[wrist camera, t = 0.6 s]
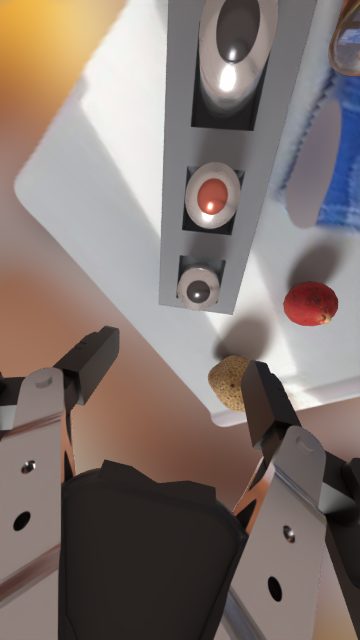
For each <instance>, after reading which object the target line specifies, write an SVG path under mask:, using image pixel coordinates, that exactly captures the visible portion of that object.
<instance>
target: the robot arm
mask: <svg viewBox="0 0 360 640" xmlns="http://www.w3.org/2000/svg"><path fill="white" fill-rule="evenodd" d="M118 353H119V329H118V328H114V327H110V326H104V327H103V328H102V329H101V330H100V331H99V332H93V333H91V334H89V335H87V336H85V337H84V338H83V339H82V340H81V341H80V342H79V343H78V344H77V345H75V346H74V348H72V349H71V350H70V351H69V352H68V353H67V354H66V355H65V356H64V357H63V358H61V359H60V360H59V361H58V362H57V363H56V364H55V365H54V366H53V367H50V368H43V369H39V370H37V371H34V372H33V373H31V374H30V375H28V376H27V377H13V378H3V376H2V374H1V372H0V442H1V443H0V640H312V638H313V631H314V622H315V614H316V606H317V598H318V590H319V582H320V574H321V566H322V558H323V550H324V542H325V543H326V546H327V549H328V552H329V555H330V558H331V561H332V563H333V566H334V569H335V572H336V575H337V578H338V581H339V584H340V587H341V590H342V593H343V596H344V599H345V602H346V605H347V608H348V611H349V614H350V617H351V620H352V623H353V626H354V629H355V631H356V634H357V638H358V640H360V458H353V459H351V460H350V461H348V462H346V461H344V460H342V459H340V458H338V457H336V456H334V455H332V454H331V453H329V452H327V451H325V450H324V448H323V446H322V445H321V443H320V442H319V441H318V439H317V438H316V437H315V436H314V435H313V434H311V433H310V432H309V431H308V430H306V429H304V428H302V426H301V424H300V421H299V419H298V417H297V415H296V413H295V411H294V409H293V407H292V404H291V402H290V400H289V399H288V396H287V394H286V392H285V390H284V387H283V385H282V383H281V381H280V380H279V379H278V378H277V377H276V376H275V375H274V374H273V373H271V372H270V370H269V368H268V365H267V364H266V363H264V362H260V361H256V360H251V361H250V363H249V365H248V367H247V369H246V370H245V372H244V374H243V376H242V379H241V384H240V387H241V393H242V397H243V402H244V407H245V412H246V417H247V422H248V426H249V431H250V436H251V441H252V446H253V448H255V449H259V450H262V452H263V457H262V458H261V460H260V462H259V464H258V466H257V468H256V470H255V472H254V474H253V476H252V479H251V481H250V483H249V485H248V487H247V489H246V491H245V493H244V495H243V496H242V498H241V499H240V501H239V502H238V504H237V505H236V507H235V509H234V510H233V512H232V511H230V509H229V508H228V507H227V506H226V505H225V504H223V503H222V502H221V501H220V500H219V499H217V498H216V491H215V487H211V486H207V485H203V484H200V483H196V482H192V481H178V482H167V483H157V482H155V481H153V480H152V479H150V478H149V477H147V476H146V475H144V474H142V473H141V472H139V471H138V470H136V469H135V468H133V467H132V466H129V465H124V464H120V463H116V462H112V461H109V460H104V462H103V464H102V467H101V468H96V469H92V470H88V471H86V472H83V473H80V474H78V475H76V471H75V460H74V453H73V436H72V435H73V434H72V414H71V410H72V409H73V407H74V406H75V404H79V405H85V404H86V402H87V401H88V399H89V398H90V396H91V395H92V393H93V392H94V390H95V389H96V387H97V386H98V384H99V383H100V381H101V380H102V378H103V377H104V375H105V374H106V372H107V371H108V370H109V368H110V367H111V365H112V364H113V362H114V361H115V359H116V358H117V355H118Z"/></svg>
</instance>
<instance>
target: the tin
mask: <svg viewBox="0 0 360 640" xmlns="http://www.w3.org/2000/svg"><path fill="white" fill-rule="evenodd" d="M328 57H329V62H330V64H331V66H332V68H333V69H334V70H336V71H337V72H339V73H341V74H343V75H347V76H360V0H345V1H344V4H343V7H342V10H341V14H340V17H339V21H338V24H337V27H336V31H335V33H334V35H333V37H332V39H331V42H330V46H329V53H328Z"/></svg>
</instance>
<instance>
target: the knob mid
mask: <svg viewBox="0 0 360 640" xmlns="http://www.w3.org/2000/svg"><path fill="white" fill-rule="evenodd" d="M240 195H241V189H240V183H239V180H238V177H237V175H236V173H235V172H234V171H233V170H232V168H230V167H229V166H228V165H226V164H223V163H220V162H212V163H208V164H205V165H203V166H202V167H200V168H199V169H198V170H197V171H196V172H195V173H194V174H193V175H192V177H191V179H190V181H189V183H188V185H187V188H186V194H185V204H186V209H187V212H188V214H189V216H190V218H191V219H192V220H193V221H194V222H195V223H196V224H197V225H199V226H201V227H203V228H208V229H212V228H217V227H220V226H222V225H224V224H225V223H226V222H228V221H229V220H230V219H231V218H232V216H233V215H234V213H235V212H236V210H237V207H238V205H239V201H240Z"/></svg>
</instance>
